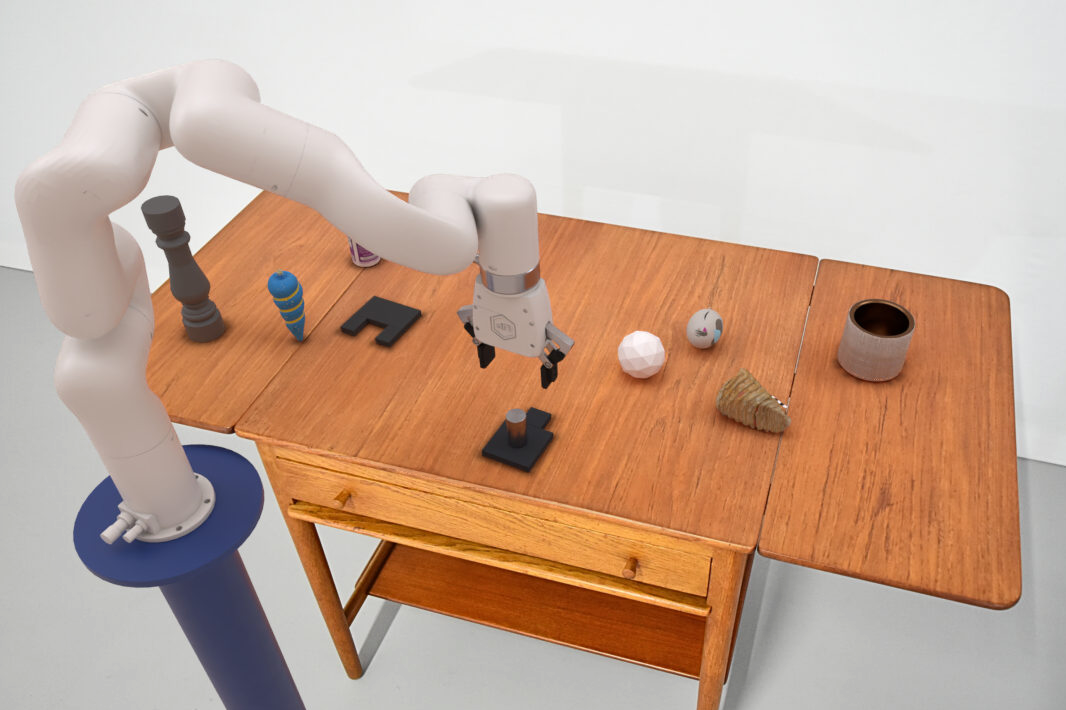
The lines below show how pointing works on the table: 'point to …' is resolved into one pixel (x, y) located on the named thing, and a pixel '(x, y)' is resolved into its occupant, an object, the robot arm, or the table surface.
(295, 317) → the ornament
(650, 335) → the geometric ball
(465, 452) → the table surface
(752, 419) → the fossil
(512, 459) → the tab pad
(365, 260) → the pill bottle
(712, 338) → the figurine
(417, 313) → the notch pad
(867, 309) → the planter
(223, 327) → the candle holder
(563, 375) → the table surface
